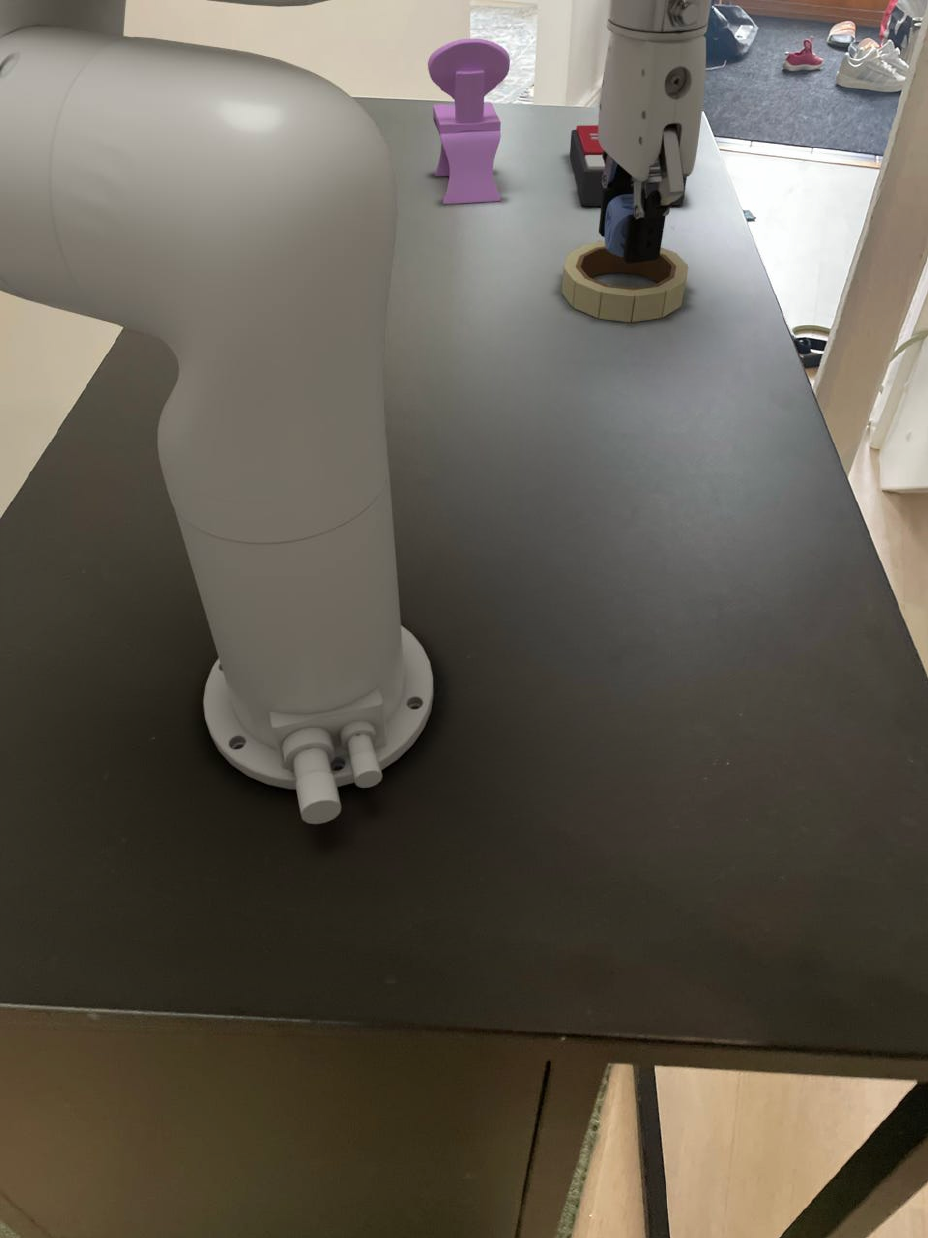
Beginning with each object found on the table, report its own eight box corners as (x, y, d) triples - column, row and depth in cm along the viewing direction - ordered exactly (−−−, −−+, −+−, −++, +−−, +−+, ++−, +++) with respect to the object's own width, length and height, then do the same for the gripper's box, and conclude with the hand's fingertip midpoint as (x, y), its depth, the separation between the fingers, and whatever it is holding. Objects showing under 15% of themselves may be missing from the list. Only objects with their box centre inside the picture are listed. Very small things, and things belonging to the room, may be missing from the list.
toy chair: (497, 170, 105) (500, 18, 94) (510, 200, 99) (515, 41, 88) (425, 174, 104) (420, 21, 93) (434, 204, 98) (430, 45, 87)
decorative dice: (646, 238, 83) (653, 193, 80) (654, 258, 80) (661, 211, 77) (602, 239, 82) (607, 193, 80) (608, 258, 80) (614, 211, 77)
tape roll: (703, 312, 82) (708, 285, 80) (588, 329, 80) (591, 302, 78) (652, 259, 89) (656, 233, 87) (546, 273, 87) (548, 248, 85)
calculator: (666, 121, 105) (690, 162, 95) (661, 161, 108) (683, 205, 97) (571, 121, 105) (584, 162, 95) (568, 161, 108) (581, 206, 97)
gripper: (760, 31, 63) (709, 283, 76) (658, -23, 74) (629, 205, 87) (660, 39, 62) (626, 295, 75) (572, -17, 73) (555, 214, 86)
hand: (628, 244), depth 81 cm, fingers closed on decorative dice, 4 cm apart
